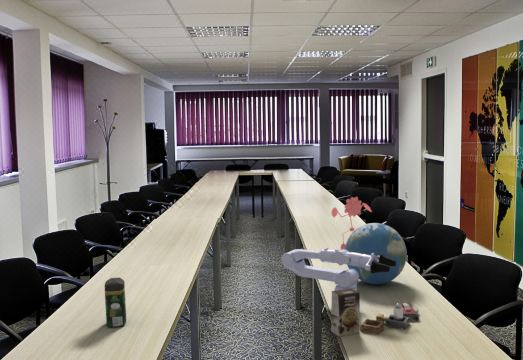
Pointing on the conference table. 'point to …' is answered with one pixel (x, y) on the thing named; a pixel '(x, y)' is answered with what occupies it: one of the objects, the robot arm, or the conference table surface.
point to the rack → (372, 326)
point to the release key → (381, 317)
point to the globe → (378, 250)
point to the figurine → (351, 211)
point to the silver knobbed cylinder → (398, 312)
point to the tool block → (397, 322)
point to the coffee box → (345, 312)
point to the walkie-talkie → (410, 311)
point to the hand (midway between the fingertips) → (392, 266)
